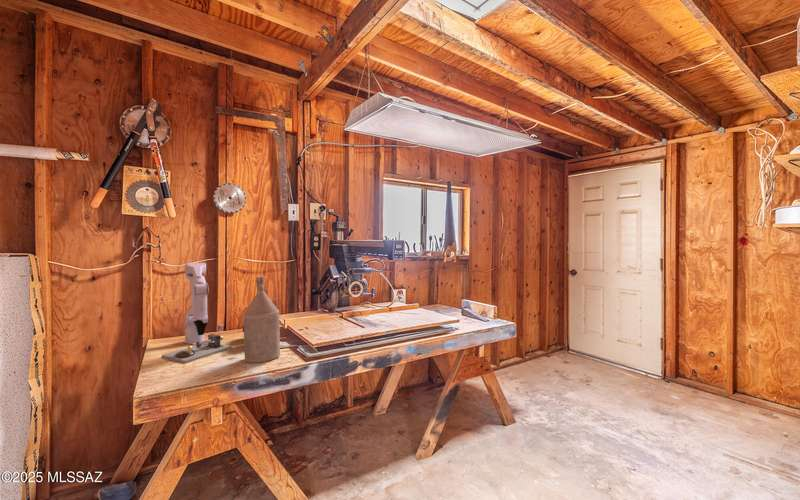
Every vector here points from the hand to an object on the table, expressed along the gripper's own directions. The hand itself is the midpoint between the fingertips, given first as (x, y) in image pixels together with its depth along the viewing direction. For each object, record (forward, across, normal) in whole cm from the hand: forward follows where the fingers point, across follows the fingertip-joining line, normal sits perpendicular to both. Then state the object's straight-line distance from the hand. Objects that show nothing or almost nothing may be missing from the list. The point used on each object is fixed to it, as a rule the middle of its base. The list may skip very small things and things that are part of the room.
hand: (200, 334), depth 167 cm
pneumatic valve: (+10, -6, +26) cm, 28 cm away
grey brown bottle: (+9, +29, +18) cm, 36 cm away
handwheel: (+8, +2, -7) cm, 11 cm away
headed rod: (+6, -2, +5) cm, 9 cm away
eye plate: (+8, -3, +7) cm, 11 cm away
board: (+9, -2, -1) cm, 9 cm away
